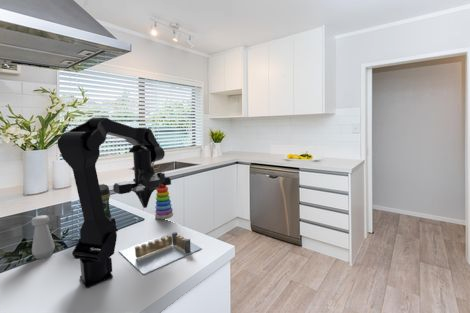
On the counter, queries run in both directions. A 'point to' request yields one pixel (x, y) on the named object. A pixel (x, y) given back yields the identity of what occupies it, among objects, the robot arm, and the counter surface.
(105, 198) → the coffee jar
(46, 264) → the counter surface
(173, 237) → the fixed fence section
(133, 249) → the card
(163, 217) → the stacking toy
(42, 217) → the salt shaker
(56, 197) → the counter surface
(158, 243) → the folding fence panel
